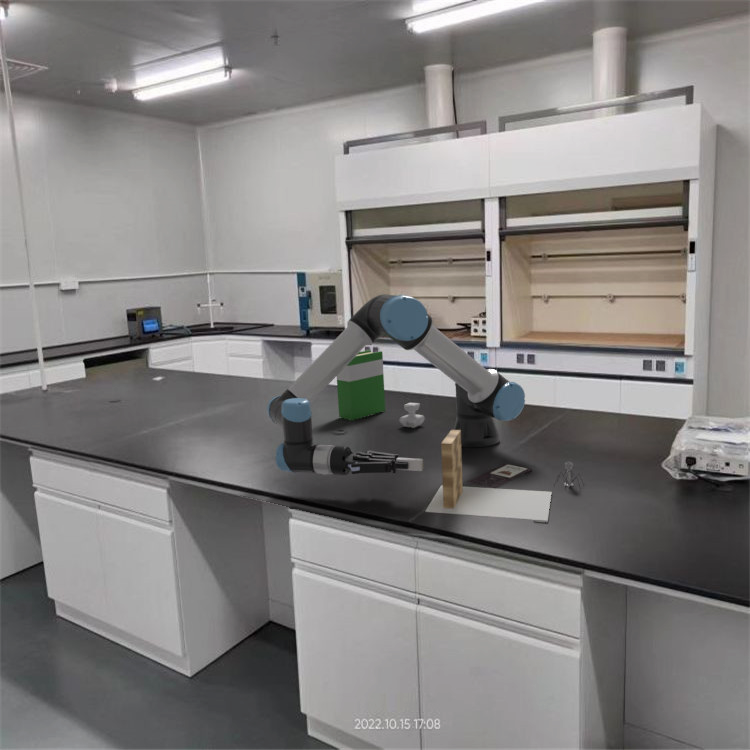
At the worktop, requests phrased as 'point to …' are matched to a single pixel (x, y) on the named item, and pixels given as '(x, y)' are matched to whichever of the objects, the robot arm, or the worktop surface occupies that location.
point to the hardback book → (361, 386)
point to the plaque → (452, 468)
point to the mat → (497, 503)
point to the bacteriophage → (568, 475)
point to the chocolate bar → (499, 475)
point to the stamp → (412, 416)
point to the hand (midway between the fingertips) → (422, 464)
